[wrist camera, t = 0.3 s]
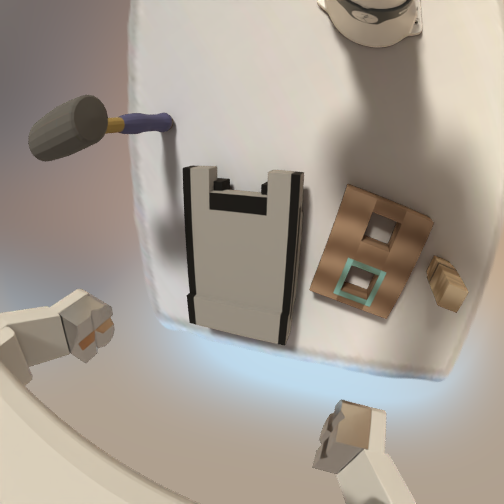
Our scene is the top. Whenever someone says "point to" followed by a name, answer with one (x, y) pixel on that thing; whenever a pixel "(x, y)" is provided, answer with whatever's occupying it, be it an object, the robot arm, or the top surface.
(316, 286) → the board
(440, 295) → the peg
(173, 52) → the top surface
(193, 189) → the game console
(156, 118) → the rubber mallet
